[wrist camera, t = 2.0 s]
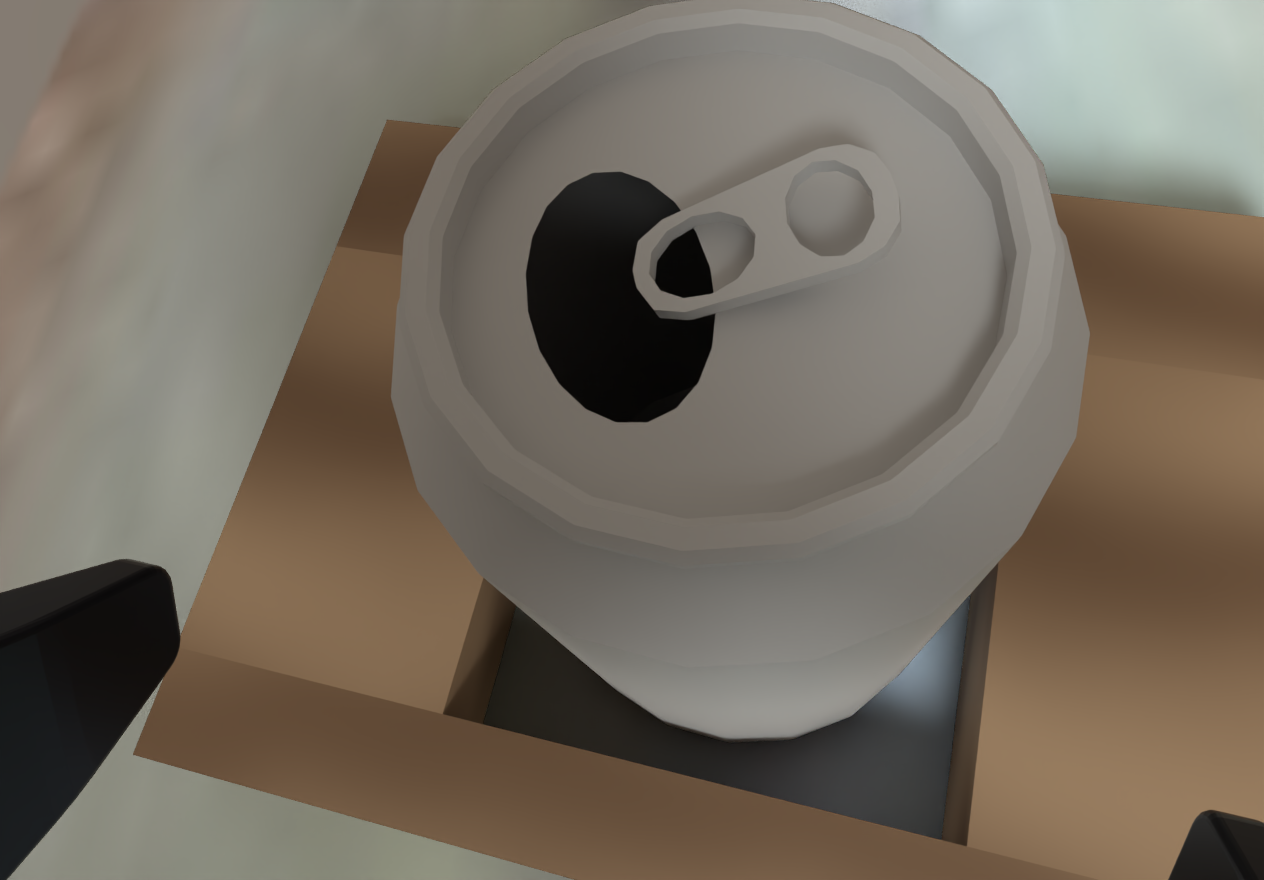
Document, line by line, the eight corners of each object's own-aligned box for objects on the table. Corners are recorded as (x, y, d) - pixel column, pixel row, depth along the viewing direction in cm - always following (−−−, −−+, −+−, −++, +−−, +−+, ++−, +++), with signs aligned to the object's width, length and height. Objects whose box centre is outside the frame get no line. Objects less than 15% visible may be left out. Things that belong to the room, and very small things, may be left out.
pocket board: (1273, 1060, 15) (1361, 1102, 13) (207, 762, 20) (132, 754, 17) (1280, 293, 20) (1345, 226, 18) (423, 185, 24) (387, 120, 22)
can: (543, 437, 21) (302, 29, 10) (870, 361, 21) (981, -148, 10) (602, 783, 18) (352, 729, 7) (983, 701, 18) (1317, 516, 7)
